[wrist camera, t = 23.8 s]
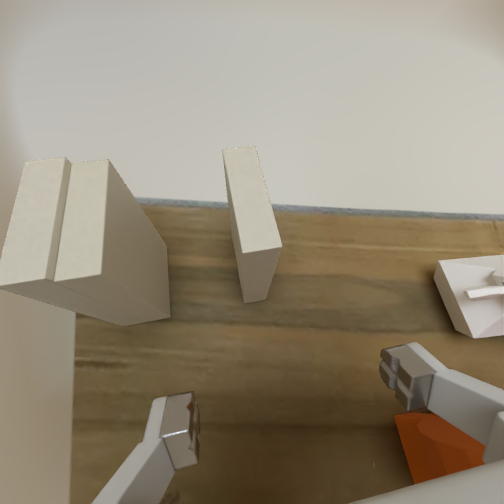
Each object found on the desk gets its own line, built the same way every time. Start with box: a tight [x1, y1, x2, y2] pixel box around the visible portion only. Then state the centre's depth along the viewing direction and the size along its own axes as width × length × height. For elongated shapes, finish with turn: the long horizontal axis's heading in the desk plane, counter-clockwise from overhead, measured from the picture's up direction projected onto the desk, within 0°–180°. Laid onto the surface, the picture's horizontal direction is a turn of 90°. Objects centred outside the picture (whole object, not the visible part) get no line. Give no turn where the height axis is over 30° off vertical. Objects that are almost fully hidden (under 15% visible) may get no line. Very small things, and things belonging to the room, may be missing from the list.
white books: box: [0, 157, 171, 326], centre depth 22 cm, size 5×9×15 cm, turn 11°
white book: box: [223, 146, 282, 304], centre depth 24 cm, size 3×9×14 cm, turn 11°
